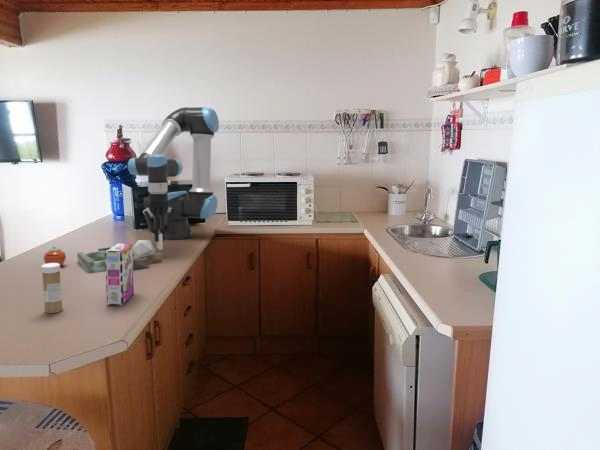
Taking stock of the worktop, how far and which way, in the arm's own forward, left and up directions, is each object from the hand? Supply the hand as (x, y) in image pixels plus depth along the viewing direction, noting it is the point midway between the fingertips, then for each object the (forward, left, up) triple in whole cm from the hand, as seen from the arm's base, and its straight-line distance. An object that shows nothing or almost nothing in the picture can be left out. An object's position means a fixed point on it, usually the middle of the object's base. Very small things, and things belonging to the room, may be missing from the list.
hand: (159, 248), depth 183 cm
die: (+7, 0, -4) cm, 8 cm away
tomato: (+38, -7, -4) cm, 39 cm away
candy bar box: (+29, +43, -4) cm, 52 cm away
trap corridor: (+16, 0, -4) cm, 17 cm away
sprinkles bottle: (+47, +42, -4) cm, 63 cm away
